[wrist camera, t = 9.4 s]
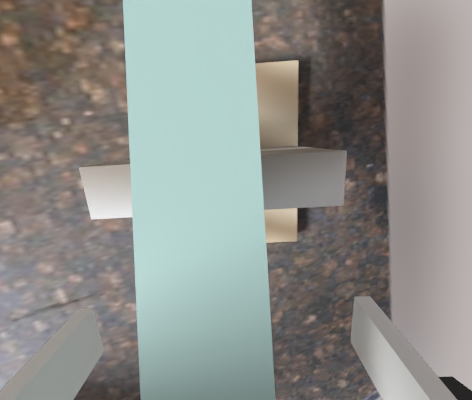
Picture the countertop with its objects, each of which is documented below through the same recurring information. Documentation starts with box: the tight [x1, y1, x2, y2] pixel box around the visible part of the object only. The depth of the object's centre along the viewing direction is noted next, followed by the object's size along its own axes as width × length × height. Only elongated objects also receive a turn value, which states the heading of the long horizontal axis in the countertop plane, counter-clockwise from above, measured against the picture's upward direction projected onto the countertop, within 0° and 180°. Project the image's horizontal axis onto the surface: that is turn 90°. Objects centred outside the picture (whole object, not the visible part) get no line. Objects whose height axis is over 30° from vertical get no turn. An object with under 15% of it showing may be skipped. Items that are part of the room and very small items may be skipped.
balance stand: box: [79, 60, 347, 243], centre depth 16 cm, size 16×13×12 cm
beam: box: [123, 0, 276, 400], centre depth 8 cm, size 26×4×4 cm, turn 4°
